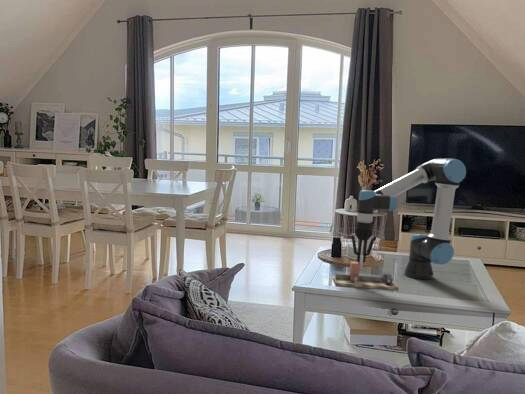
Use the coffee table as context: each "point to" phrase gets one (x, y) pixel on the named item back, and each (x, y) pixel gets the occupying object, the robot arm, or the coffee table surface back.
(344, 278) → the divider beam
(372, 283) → the bolt board
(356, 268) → the sliding head
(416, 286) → the coffee table surface
